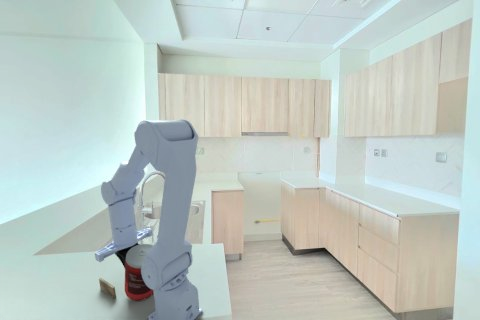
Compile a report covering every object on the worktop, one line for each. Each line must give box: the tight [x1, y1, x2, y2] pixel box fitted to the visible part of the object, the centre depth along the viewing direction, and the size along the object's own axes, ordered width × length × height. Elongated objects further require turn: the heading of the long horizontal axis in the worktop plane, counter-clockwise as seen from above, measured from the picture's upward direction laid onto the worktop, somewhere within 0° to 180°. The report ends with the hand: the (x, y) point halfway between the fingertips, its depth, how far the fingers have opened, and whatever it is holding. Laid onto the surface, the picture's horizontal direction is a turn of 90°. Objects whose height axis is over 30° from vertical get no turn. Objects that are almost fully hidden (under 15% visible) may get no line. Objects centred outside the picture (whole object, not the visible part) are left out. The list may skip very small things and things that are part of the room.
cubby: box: [98, 277, 117, 299], centre depth 63 cm, size 7×10×3 cm
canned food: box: [124, 243, 154, 302], centre depth 57 cm, size 8×8×11 cm
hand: (130, 271), depth 60 cm, fingers closed, pressing on canned food
